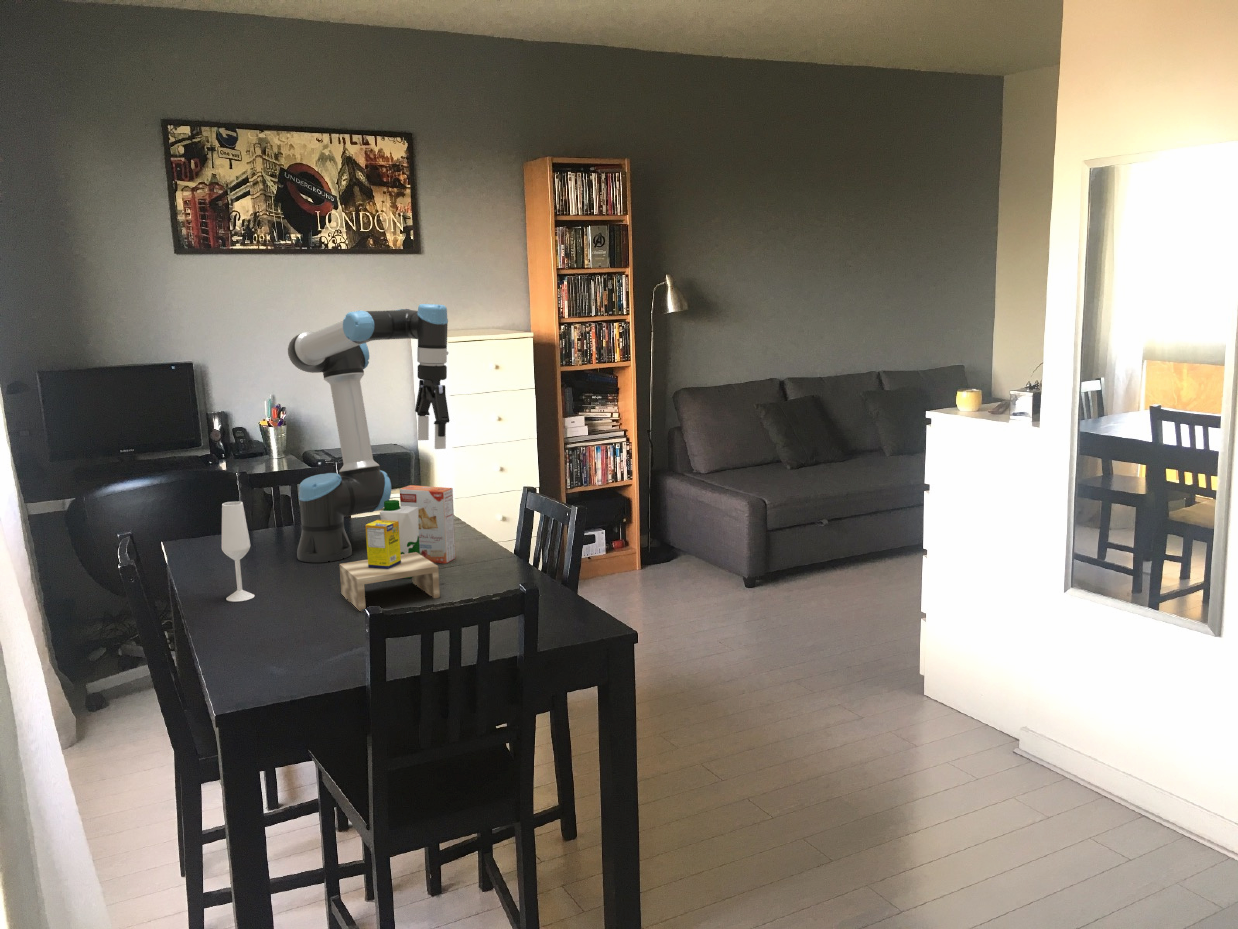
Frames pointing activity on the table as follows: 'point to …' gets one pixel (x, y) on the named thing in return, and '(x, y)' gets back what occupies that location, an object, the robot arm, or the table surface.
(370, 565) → the supplement box
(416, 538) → the milk carton
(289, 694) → the table surface
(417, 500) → the cracker box
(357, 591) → the oak shelf
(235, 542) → the champagne flute
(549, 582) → the table surface
